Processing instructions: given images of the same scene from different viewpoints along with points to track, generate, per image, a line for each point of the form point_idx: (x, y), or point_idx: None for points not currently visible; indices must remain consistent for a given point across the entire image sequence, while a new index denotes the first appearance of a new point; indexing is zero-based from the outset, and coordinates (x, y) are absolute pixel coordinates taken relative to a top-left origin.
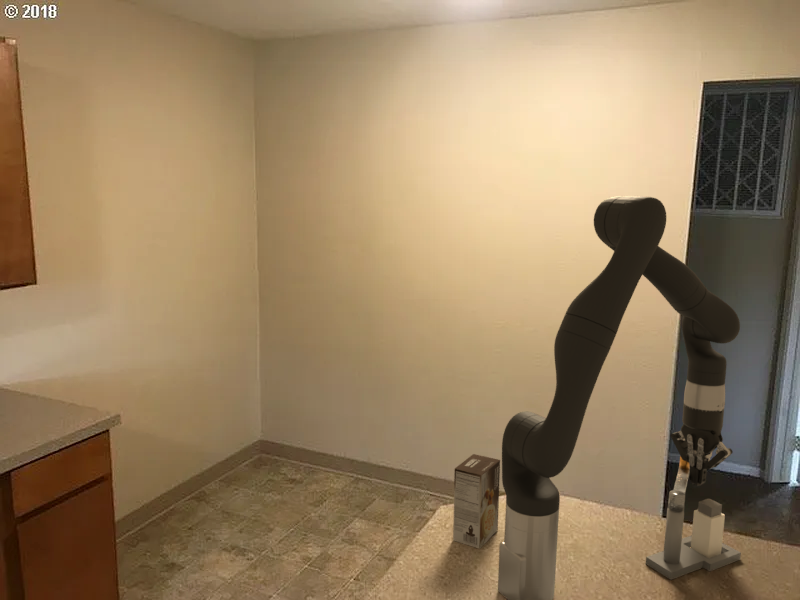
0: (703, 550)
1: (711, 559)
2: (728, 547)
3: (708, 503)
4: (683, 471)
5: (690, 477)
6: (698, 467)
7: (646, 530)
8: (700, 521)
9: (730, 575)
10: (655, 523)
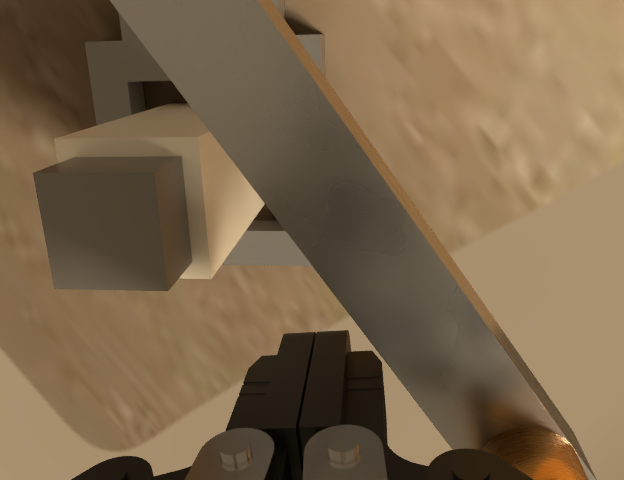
0: (179, 108)
1: (115, 84)
2: None
3: (100, 213)
4: (466, 387)
5: (369, 364)
6: (237, 436)
7: (525, 65)
8: (159, 129)
9: (50, 103)
10: (548, 172)
